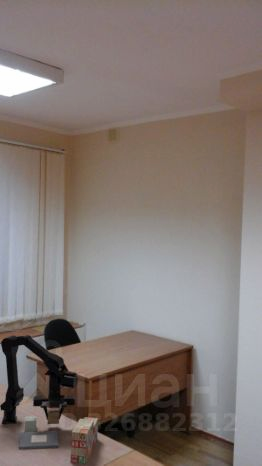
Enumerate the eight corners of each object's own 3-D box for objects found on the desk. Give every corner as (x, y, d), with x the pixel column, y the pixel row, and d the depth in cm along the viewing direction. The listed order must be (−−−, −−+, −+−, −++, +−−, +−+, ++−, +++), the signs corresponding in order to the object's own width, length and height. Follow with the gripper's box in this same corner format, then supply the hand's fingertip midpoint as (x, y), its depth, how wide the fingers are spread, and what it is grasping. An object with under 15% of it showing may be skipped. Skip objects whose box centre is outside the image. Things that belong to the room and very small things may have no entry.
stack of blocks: (83, 437, 190) (85, 409, 190) (97, 439, 189) (98, 411, 189) (70, 462, 169) (71, 431, 169) (85, 464, 168) (87, 432, 168)
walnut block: (47, 419, 200) (48, 408, 200) (58, 419, 200) (59, 408, 201) (47, 424, 195) (48, 413, 195) (58, 423, 196) (59, 412, 196)
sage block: (24, 427, 198) (25, 416, 198) (36, 426, 199) (36, 416, 199) (24, 432, 193) (25, 421, 193) (35, 431, 194) (36, 420, 194)
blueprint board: (20, 434, 190) (20, 432, 190) (57, 433, 193) (57, 430, 193) (18, 449, 177) (18, 446, 177) (58, 447, 180) (58, 444, 180)
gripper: (33, 392, 188) (31, 427, 188) (76, 391, 192) (74, 426, 191) (34, 383, 199) (32, 417, 199) (74, 382, 203) (73, 415, 202)
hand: (53, 419), depth 198 cm, fingers closed on walnut block, 5 cm apart
